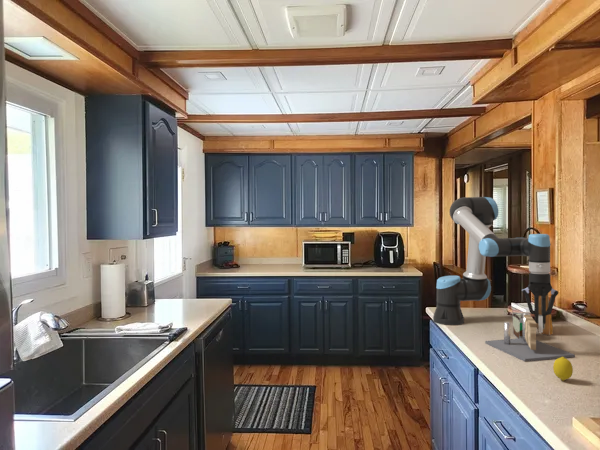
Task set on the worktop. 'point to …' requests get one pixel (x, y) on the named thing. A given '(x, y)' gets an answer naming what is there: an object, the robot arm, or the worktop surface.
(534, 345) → the light wood flat slab
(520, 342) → the mat
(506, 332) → the posts
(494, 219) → the robot arm
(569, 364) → the lemon
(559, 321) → the worktop surface
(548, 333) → the pancake mix bag
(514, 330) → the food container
